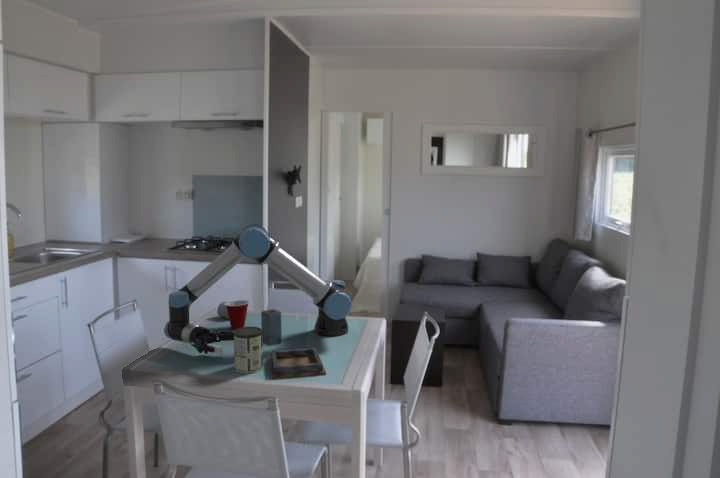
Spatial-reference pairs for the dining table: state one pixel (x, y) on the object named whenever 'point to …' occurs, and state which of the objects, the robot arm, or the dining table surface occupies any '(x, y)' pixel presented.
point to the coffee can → (248, 349)
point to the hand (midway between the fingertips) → (235, 345)
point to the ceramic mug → (223, 310)
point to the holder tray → (295, 363)
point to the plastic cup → (237, 313)
